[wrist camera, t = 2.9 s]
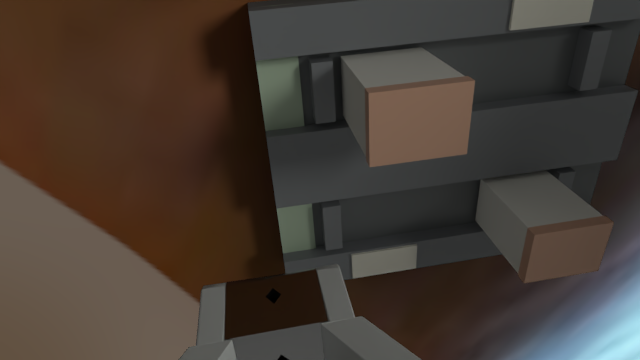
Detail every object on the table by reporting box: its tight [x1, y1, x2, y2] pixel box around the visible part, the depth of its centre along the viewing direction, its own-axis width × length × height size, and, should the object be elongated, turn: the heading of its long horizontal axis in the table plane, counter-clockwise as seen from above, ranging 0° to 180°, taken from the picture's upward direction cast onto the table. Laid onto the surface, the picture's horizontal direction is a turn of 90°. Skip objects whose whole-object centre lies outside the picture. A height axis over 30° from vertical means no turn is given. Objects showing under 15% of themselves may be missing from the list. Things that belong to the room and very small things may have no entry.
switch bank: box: [248, 0, 640, 280], centre depth 25 cm, size 20×16×3 cm
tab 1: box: [340, 47, 475, 167], centre depth 20 cm, size 4×3×6 cm
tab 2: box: [475, 170, 614, 283], centre depth 24 cm, size 4×3×6 cm
